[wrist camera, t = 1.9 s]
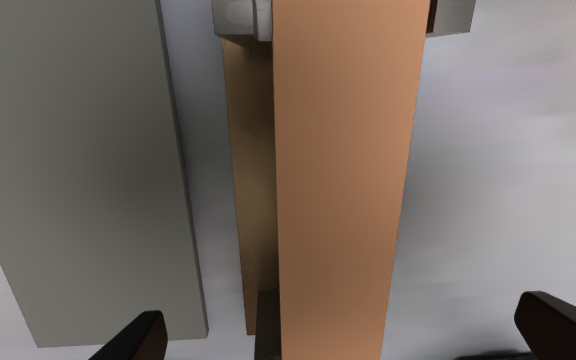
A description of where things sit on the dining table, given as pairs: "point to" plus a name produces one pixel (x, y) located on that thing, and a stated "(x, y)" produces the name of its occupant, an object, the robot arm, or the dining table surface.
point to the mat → (93, 173)
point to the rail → (341, 165)
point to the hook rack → (271, 148)
